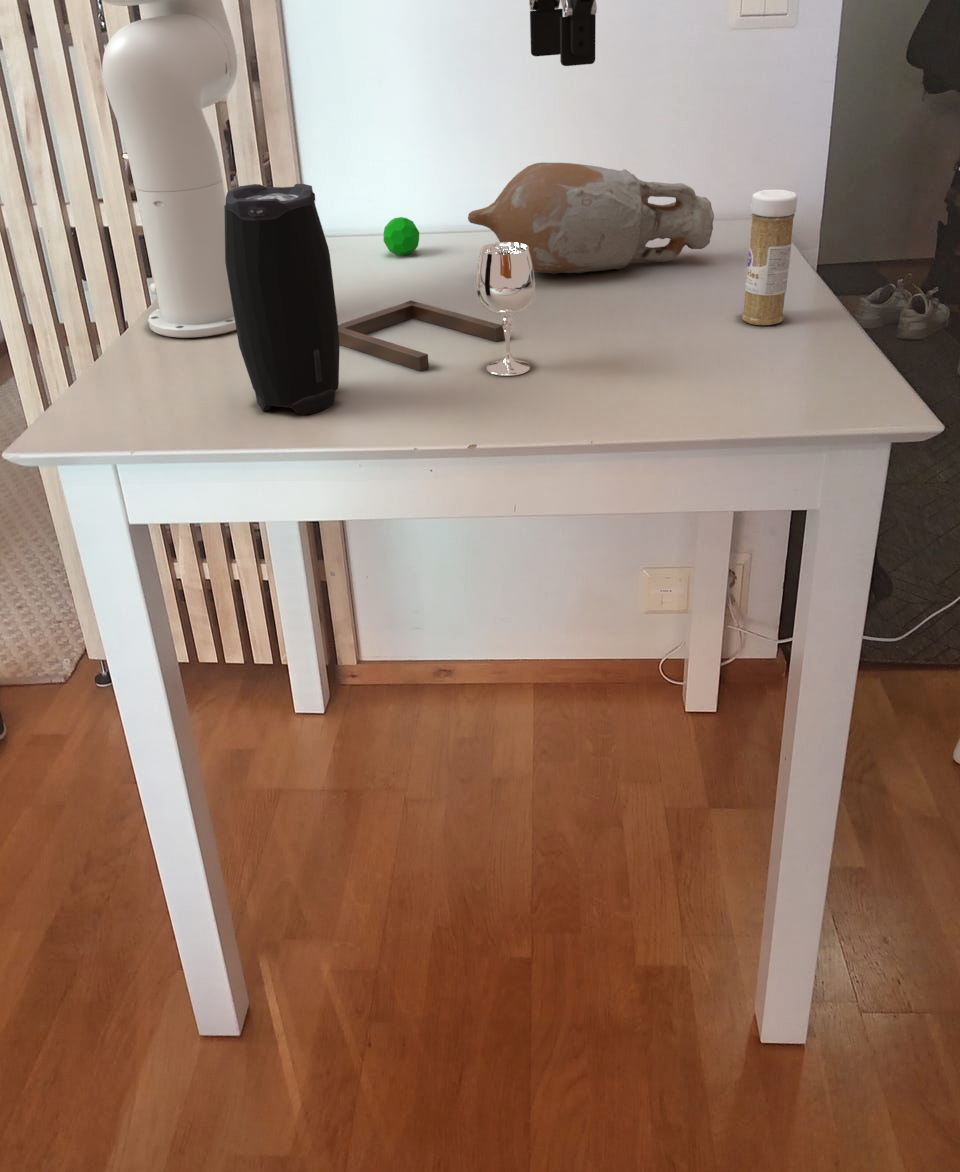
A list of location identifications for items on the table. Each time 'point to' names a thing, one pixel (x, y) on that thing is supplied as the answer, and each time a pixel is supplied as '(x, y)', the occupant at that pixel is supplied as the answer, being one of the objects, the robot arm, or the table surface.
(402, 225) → the polyhedron
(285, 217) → the portable speaker
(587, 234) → the amphora
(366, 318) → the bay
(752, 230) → the sprinkles bottle
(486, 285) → the wineglass
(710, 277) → the table surface
